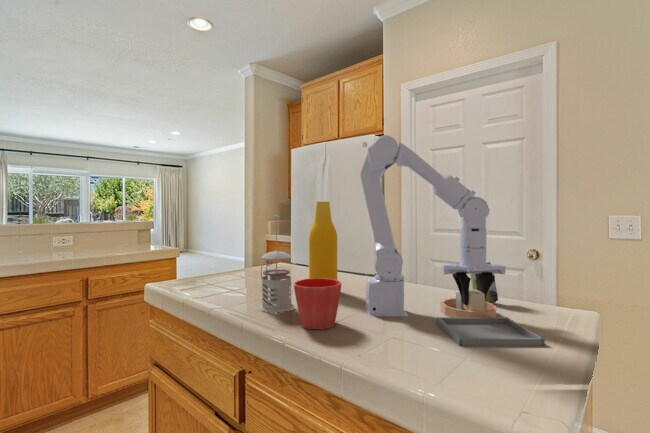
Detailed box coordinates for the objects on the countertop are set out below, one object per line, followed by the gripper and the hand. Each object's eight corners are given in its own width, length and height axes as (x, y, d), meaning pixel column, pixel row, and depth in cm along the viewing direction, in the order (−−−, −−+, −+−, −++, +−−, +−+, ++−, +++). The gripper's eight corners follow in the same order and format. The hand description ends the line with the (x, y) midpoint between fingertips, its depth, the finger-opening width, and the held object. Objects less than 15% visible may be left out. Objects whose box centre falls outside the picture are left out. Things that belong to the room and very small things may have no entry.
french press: (270, 315, 84) (270, 215, 84) (248, 305, 93) (247, 214, 92) (302, 308, 90) (302, 214, 90) (278, 299, 99) (277, 214, 99)
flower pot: (294, 317, 82) (293, 277, 82) (338, 316, 83) (338, 277, 83) (293, 333, 72) (293, 287, 72) (344, 331, 73) (344, 286, 72)
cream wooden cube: (484, 312, 78) (484, 293, 78) (470, 312, 78) (470, 293, 78) (476, 307, 82) (476, 289, 82) (463, 307, 82) (463, 289, 82)
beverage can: (501, 307, 91) (501, 262, 90) (471, 305, 92) (472, 262, 92) (494, 301, 97) (494, 259, 97) (467, 300, 98) (467, 258, 98)
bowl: (452, 324, 77) (452, 311, 77) (434, 308, 90) (434, 298, 90) (506, 324, 77) (506, 311, 77) (481, 308, 90) (481, 297, 90)
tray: (459, 348, 63) (459, 339, 63) (436, 325, 76) (436, 317, 76) (544, 348, 63) (544, 339, 63) (507, 325, 76) (507, 317, 76)
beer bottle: (340, 289, 111) (340, 201, 111) (332, 296, 103) (332, 201, 102) (314, 287, 114) (314, 202, 114) (304, 294, 105) (304, 201, 105)
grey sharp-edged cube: (460, 312, 84) (460, 295, 84) (455, 309, 87) (455, 292, 87) (476, 312, 84) (476, 295, 84) (471, 309, 87) (471, 292, 87)
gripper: (448, 249, 76) (448, 308, 77) (512, 248, 76) (512, 308, 77) (438, 245, 83) (438, 300, 84) (497, 245, 83) (496, 300, 84)
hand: (472, 303), depth 81 cm, fingers closed on cream wooden cube, 3 cm apart
